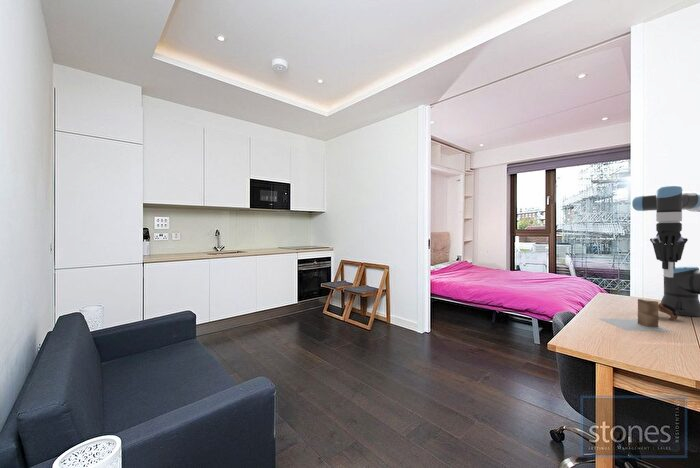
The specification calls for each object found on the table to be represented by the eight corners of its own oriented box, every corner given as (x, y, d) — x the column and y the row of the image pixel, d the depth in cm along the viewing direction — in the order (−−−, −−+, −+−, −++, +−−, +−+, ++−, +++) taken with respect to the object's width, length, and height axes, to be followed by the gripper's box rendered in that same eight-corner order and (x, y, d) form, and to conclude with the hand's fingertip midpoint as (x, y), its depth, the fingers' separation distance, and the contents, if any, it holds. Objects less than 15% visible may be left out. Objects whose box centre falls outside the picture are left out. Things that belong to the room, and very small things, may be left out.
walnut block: (648, 323, 131) (649, 298, 131) (658, 327, 127) (658, 301, 126) (637, 323, 132) (637, 298, 131) (646, 326, 127) (646, 301, 127)
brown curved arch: (656, 315, 146) (669, 303, 142) (674, 330, 138) (687, 317, 134) (634, 310, 145) (646, 297, 142) (650, 324, 137) (663, 311, 133)
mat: (640, 320, 138) (640, 319, 138) (673, 332, 122) (673, 331, 122) (598, 319, 140) (598, 318, 140) (625, 331, 124) (625, 330, 124)
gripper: (677, 222, 130) (676, 275, 131) (644, 222, 132) (644, 275, 132) (694, 221, 123) (694, 278, 123) (660, 222, 124) (659, 278, 125)
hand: (668, 276), depth 128 cm, fingers closed
